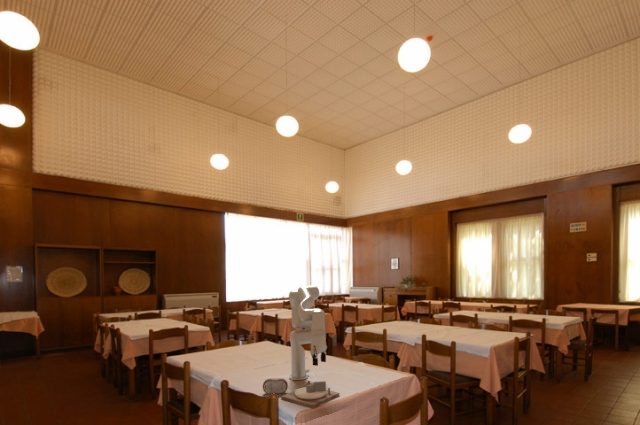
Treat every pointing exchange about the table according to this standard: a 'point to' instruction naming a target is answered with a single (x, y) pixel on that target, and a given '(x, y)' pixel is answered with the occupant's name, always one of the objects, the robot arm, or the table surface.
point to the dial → (312, 391)
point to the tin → (275, 386)
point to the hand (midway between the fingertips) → (319, 363)
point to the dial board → (312, 402)
